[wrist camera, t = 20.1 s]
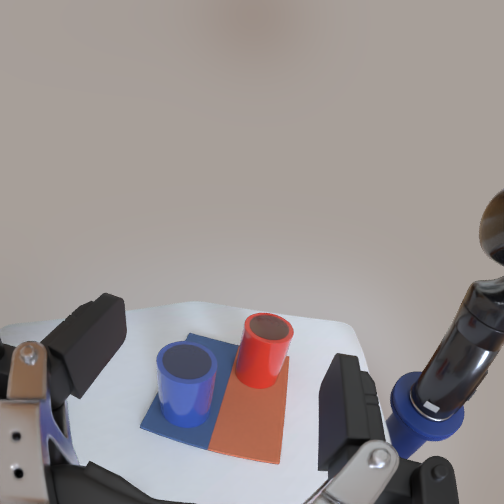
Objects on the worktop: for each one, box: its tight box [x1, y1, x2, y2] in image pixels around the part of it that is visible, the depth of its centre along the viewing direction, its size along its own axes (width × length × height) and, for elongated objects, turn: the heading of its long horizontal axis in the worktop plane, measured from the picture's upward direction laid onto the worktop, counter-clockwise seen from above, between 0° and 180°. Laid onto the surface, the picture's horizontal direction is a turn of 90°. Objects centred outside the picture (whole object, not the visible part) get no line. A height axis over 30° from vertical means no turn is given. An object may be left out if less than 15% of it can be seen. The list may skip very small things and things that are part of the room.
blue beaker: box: [156, 341, 218, 428], centre depth 28 cm, size 6×6×9 cm
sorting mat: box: [140, 333, 289, 464], centre depth 34 cm, size 16×19×1 cm
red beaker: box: [235, 313, 294, 389], centre depth 36 cm, size 6×6×8 cm
